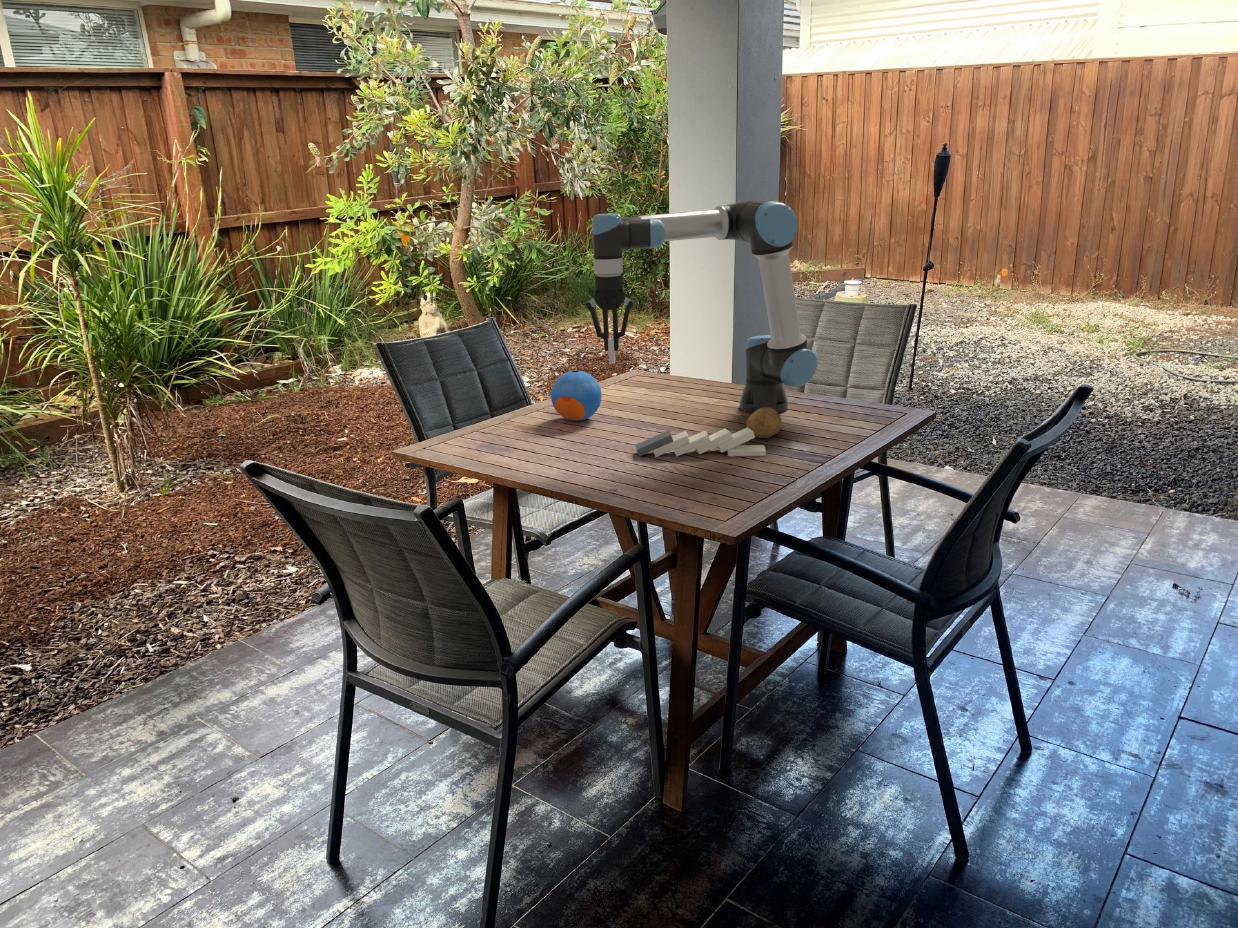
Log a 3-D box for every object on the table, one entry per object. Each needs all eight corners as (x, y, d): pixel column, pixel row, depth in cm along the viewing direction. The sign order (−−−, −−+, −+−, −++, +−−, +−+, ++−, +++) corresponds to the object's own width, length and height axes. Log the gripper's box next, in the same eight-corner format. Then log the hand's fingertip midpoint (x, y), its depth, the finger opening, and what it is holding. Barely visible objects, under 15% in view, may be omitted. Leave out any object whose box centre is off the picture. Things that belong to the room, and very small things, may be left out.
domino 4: (695, 450, 249) (727, 434, 250) (699, 454, 244) (732, 438, 245) (692, 444, 249) (724, 428, 249) (696, 447, 244) (730, 431, 244)
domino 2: (655, 451, 250) (688, 436, 248) (655, 457, 245) (690, 442, 244) (652, 445, 249) (685, 430, 248) (652, 450, 244) (687, 435, 243)
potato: (782, 430, 265) (783, 403, 262) (779, 444, 252) (780, 416, 249) (749, 429, 267) (749, 402, 264) (744, 443, 254) (744, 415, 251)
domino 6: (727, 452, 249) (763, 452, 248) (728, 458, 244) (765, 457, 243) (727, 445, 248) (764, 445, 247) (728, 451, 243) (765, 450, 243)
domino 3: (674, 451, 249) (707, 436, 248) (676, 456, 244) (710, 441, 244) (671, 444, 248) (705, 430, 248) (673, 450, 244) (708, 435, 243)
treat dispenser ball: (544, 424, 278) (541, 375, 273) (565, 411, 292) (562, 364, 287) (590, 428, 273) (588, 378, 268) (609, 415, 286) (608, 367, 281)
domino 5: (717, 448, 249) (750, 433, 249) (721, 452, 244) (755, 437, 245) (714, 442, 249) (747, 427, 249) (718, 446, 244) (752, 430, 244)
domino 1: (638, 450, 249) (672, 436, 248) (639, 456, 245) (673, 441, 244) (635, 444, 249) (669, 429, 248) (636, 450, 244) (670, 435, 243)
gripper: (634, 272, 242) (637, 359, 250) (585, 273, 243) (589, 360, 251) (632, 275, 235) (635, 365, 243) (582, 277, 236) (586, 366, 244)
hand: (612, 362), depth 247 cm, fingers closed
